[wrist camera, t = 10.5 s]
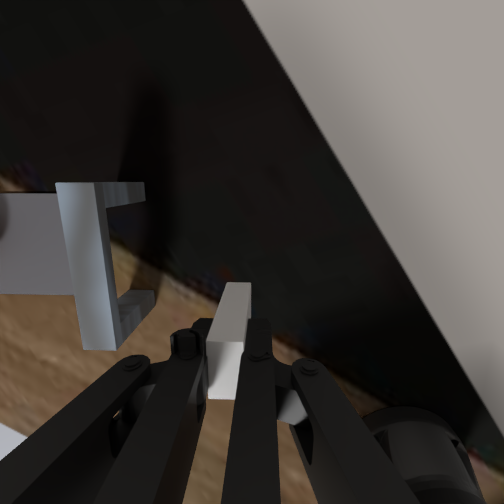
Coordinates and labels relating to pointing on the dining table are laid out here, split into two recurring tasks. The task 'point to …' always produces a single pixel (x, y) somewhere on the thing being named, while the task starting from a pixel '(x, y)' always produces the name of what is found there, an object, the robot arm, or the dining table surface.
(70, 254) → the bridge
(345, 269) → the dining table surface
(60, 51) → the dining table surface
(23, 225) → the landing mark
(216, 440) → the dining table surface
